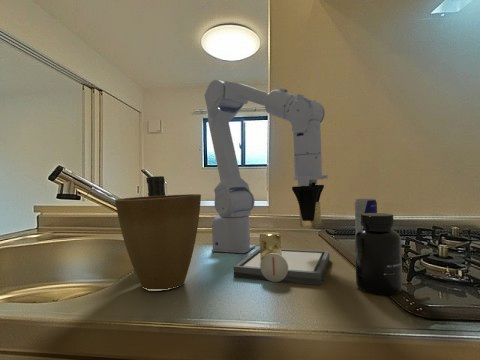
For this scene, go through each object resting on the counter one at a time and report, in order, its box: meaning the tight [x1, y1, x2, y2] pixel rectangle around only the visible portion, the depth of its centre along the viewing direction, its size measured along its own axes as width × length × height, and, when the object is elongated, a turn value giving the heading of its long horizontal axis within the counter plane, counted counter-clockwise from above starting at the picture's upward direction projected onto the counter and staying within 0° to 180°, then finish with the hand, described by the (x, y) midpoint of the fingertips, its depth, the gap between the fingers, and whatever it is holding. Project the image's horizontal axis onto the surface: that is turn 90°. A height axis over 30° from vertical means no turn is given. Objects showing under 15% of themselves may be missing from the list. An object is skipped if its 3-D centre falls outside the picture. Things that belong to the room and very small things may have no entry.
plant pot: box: [114, 193, 202, 289], centre depth 55 cm, size 15×15×16 cm
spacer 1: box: [259, 231, 282, 260], centre depth 63 cm, size 4×4×5 cm
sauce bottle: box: [145, 175, 166, 197], centre depth 70 cm, size 6×6×20 cm
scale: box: [233, 247, 330, 286], centre depth 61 cm, size 16×17×5 cm
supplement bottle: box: [354, 212, 403, 296], centre depth 49 cm, size 7×7×12 cm
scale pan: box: [244, 251, 322, 271], centre depth 62 cm, size 13×13×1 cm
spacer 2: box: [298, 201, 322, 228], centre depth 65 cm, size 4×4×5 cm
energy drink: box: [354, 198, 378, 234], centre depth 79 cm, size 5×5×12 cm
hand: (309, 219), depth 65 cm, fingers closed on spacer 2, 4 cm apart
